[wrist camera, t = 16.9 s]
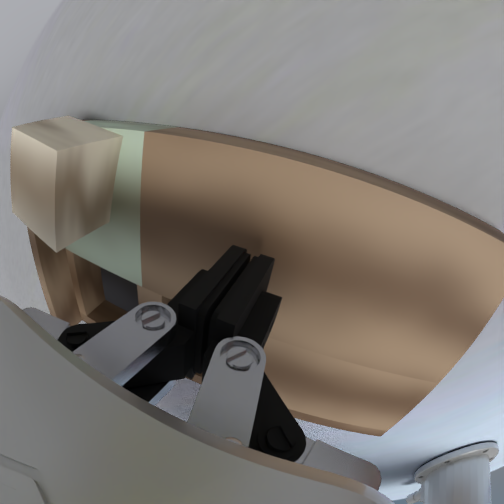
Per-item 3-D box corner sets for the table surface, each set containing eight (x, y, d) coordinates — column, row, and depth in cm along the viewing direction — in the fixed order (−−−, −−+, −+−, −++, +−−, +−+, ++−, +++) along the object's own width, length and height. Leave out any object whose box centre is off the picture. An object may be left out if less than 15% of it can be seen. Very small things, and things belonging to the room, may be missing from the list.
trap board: (381, 406, 18) (378, 464, 13) (95, 297, 23) (57, 331, 18) (500, 230, 10) (551, 283, 6) (83, 119, 15) (18, 132, 10)
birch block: (109, 221, 14) (56, 252, 11) (60, 190, 15) (12, 212, 11) (123, 136, 11) (57, 151, 8) (68, 115, 12) (12, 127, 9)
